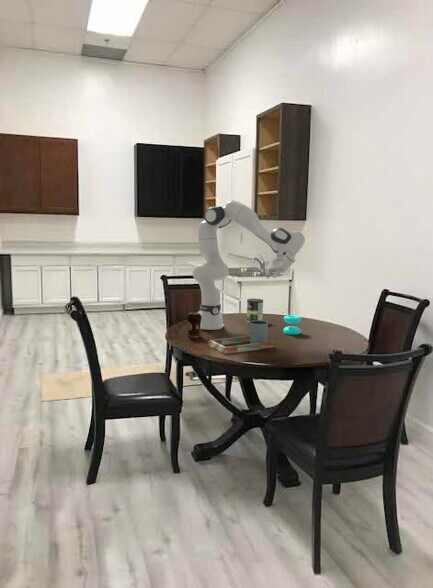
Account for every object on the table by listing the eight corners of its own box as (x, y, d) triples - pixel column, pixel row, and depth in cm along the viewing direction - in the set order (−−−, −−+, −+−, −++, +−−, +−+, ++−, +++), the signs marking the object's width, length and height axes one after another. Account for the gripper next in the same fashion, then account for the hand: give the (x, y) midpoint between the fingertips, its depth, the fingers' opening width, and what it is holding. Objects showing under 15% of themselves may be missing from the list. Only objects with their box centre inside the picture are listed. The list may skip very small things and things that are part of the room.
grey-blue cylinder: (266, 347, 250) (267, 324, 248) (247, 346, 252) (247, 323, 250) (268, 342, 260) (269, 320, 258) (249, 341, 262) (250, 319, 260)
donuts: (303, 315, 283) (298, 318, 274) (303, 332, 284) (297, 336, 276) (287, 314, 287) (281, 316, 279) (286, 330, 289) (280, 334, 280)
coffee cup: (187, 338, 267) (187, 315, 265) (184, 334, 275) (184, 312, 273) (203, 337, 269) (203, 314, 267) (199, 334, 277) (199, 311, 275)
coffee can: (250, 323, 307) (250, 301, 305) (244, 320, 317) (244, 298, 315) (265, 322, 310) (265, 300, 308) (258, 319, 320) (259, 298, 318)
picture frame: (208, 346, 251) (208, 340, 251) (255, 339, 265) (255, 334, 265) (225, 354, 237) (225, 348, 236) (273, 347, 251) (274, 341, 250)
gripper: (272, 254, 274) (258, 274, 272) (288, 252, 255) (273, 273, 252) (280, 261, 276) (266, 281, 274) (297, 260, 257) (282, 280, 254)
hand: (270, 277), depth 263 cm, fingers open, 8 cm apart
